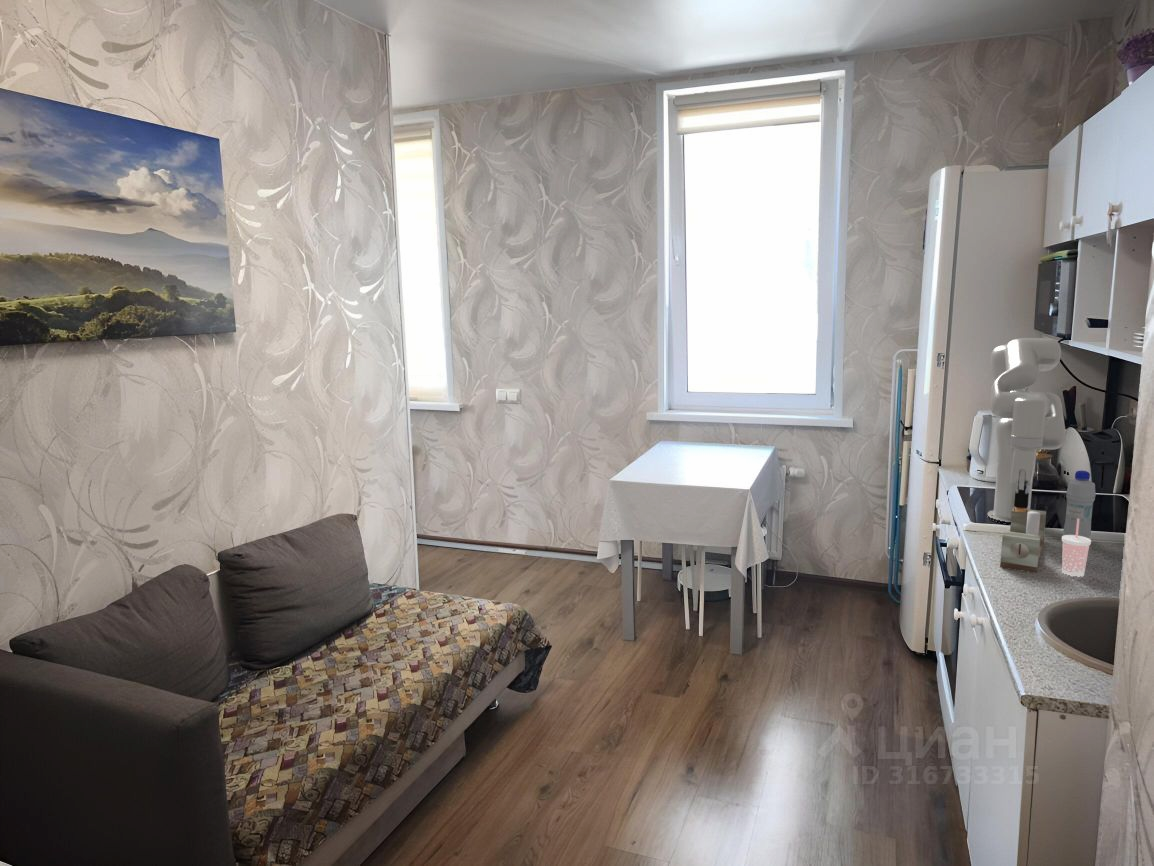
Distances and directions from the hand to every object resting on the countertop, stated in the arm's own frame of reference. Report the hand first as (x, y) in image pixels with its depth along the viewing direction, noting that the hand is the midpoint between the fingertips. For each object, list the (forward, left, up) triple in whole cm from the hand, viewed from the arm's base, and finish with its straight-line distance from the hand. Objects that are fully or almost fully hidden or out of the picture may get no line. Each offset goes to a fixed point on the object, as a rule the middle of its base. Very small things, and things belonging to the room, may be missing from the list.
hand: (1020, 506), depth 214 cm
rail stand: (+12, +2, -9) cm, 16 cm away
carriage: (+19, +2, -7) cm, 20 cm away
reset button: (0, 0, -4) cm, 4 cm away
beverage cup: (+22, +14, -10) cm, 28 cm away
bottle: (-6, +14, -10) cm, 18 cm away
